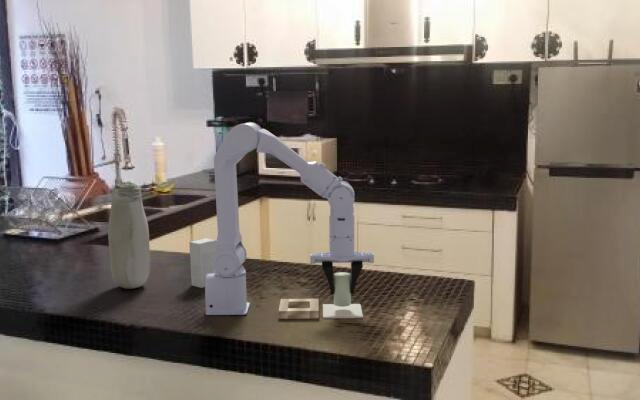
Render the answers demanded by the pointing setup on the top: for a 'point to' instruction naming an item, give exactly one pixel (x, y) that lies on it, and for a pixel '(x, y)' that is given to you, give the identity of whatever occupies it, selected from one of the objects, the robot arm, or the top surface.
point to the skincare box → (201, 260)
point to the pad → (342, 311)
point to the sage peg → (342, 289)
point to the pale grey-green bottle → (128, 237)
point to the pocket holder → (299, 308)
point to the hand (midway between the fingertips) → (342, 293)
